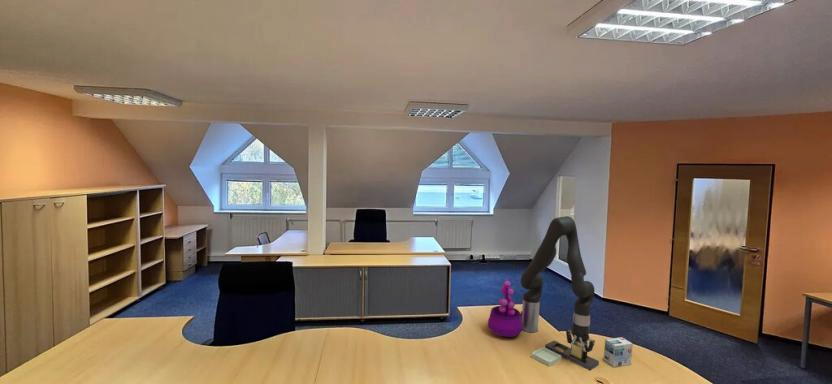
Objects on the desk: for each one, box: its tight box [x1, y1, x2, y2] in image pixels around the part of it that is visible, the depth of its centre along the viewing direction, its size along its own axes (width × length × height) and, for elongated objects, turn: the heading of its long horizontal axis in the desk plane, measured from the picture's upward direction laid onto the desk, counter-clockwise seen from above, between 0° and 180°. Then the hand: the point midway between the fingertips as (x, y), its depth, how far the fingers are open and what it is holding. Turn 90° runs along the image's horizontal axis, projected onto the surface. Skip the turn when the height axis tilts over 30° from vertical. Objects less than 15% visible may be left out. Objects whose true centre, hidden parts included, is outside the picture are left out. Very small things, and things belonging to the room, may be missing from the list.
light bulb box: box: [603, 336, 634, 368], centre depth 179 cm, size 11×7×11 cm, turn 105°
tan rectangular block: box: [571, 342, 586, 361], centre depth 180 cm, size 5×5×8 cm
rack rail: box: [544, 340, 600, 371], centre depth 184 cm, size 24×8×2 cm, turn 37°
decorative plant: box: [487, 280, 523, 338], centre depth 205 cm, size 19×18×30 cm
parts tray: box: [530, 346, 562, 367], centre depth 181 cm, size 10×10×2 cm
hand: (578, 355), depth 180 cm, fingers closed on tan rectangular block, 5 cm apart
